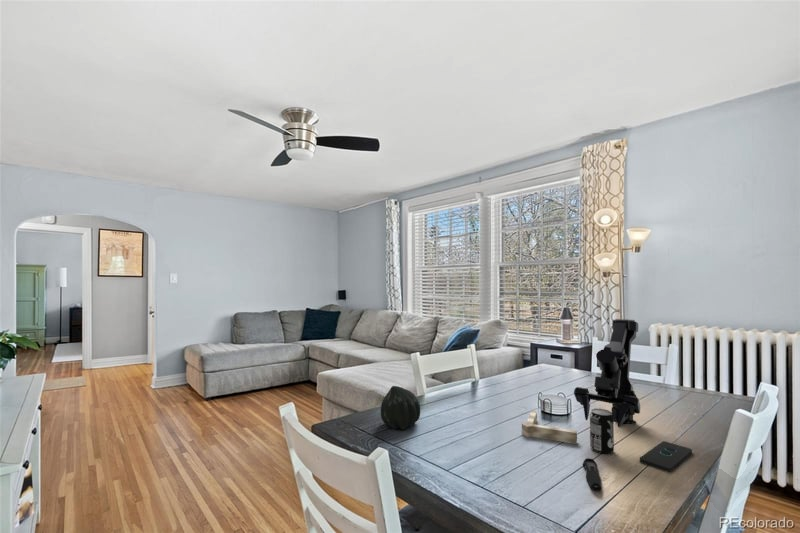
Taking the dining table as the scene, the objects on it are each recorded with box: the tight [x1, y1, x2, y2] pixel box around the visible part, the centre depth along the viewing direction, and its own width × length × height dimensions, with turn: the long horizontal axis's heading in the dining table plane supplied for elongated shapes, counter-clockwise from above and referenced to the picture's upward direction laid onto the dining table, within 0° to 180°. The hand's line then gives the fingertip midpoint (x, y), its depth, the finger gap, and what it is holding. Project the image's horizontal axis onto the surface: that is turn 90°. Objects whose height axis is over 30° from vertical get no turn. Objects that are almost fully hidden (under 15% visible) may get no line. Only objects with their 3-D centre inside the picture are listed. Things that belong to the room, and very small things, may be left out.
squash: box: [380, 385, 421, 430], centre depth 144 cm, size 14×15×15 cm
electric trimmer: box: [582, 457, 602, 491], centre depth 106 cm, size 4×16×3 cm, turn 160°
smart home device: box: [639, 440, 693, 473], centre depth 118 cm, size 8×2×20 cm
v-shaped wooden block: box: [521, 410, 578, 445], centre depth 137 cm, size 13×23×4 cm, turn 19°
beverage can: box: [589, 408, 615, 455], centre depth 123 cm, size 7×7×12 cm
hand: (601, 423), depth 124 cm, fingers open, 9 cm apart
